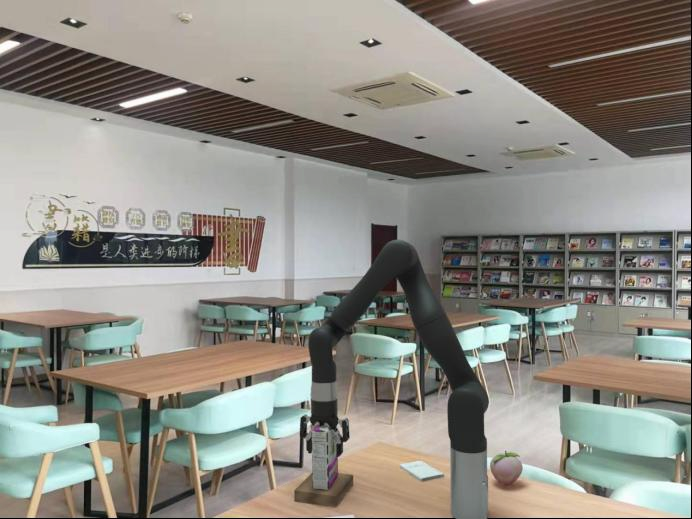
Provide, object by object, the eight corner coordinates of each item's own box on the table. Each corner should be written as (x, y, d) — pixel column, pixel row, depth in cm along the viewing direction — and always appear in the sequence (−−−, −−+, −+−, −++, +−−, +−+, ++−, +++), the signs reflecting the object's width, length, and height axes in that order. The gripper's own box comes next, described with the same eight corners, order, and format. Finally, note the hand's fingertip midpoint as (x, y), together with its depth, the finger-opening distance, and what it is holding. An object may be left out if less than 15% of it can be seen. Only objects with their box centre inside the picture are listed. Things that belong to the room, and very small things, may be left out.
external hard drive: (421, 483, 160) (399, 469, 171) (444, 479, 163) (421, 464, 174) (421, 478, 160) (399, 463, 171) (444, 473, 163) (421, 459, 174)
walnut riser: (353, 485, 157) (353, 474, 157) (335, 507, 143) (335, 496, 143) (315, 479, 161) (315, 469, 161) (294, 501, 147) (294, 490, 147)
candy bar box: (321, 473, 158) (321, 417, 158) (338, 475, 157) (338, 418, 157) (311, 489, 147) (310, 429, 147) (328, 491, 146) (328, 430, 146)
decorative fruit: (506, 476, 163) (505, 443, 163) (527, 486, 156) (527, 451, 156) (483, 483, 158) (482, 449, 158) (504, 493, 151) (503, 457, 151)
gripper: (352, 395, 154) (352, 452, 154) (306, 391, 158) (306, 447, 158) (343, 402, 146) (344, 461, 146) (295, 398, 151) (295, 456, 151)
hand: (324, 454), depth 152 cm, fingers open, 8 cm apart
